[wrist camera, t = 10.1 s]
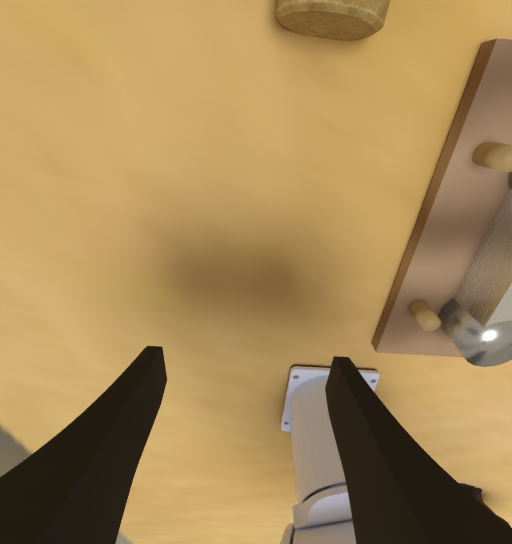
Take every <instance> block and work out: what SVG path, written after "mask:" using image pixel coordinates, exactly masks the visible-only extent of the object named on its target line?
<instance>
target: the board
mask: <svg viewBox="0 0 512 544" xmlns="http://www.w3.org/2000/svg"><path fill="white" fill-rule="evenodd" d="M509 172H512V40H509V39H494V40H491V41H487V42H484V43H482V45H481V48H480V50H479V53H478V56H477V59H476V61H475V64H474V67H473V69H472V72H471V75H470V78H469V80H468V83H467V86H466V88H465V91H464V94H463V97H462V99H461V102H460V105H459V108H458V110H457V113H456V116H455V118H454V121H453V124H452V127H451V129H450V132H449V135H448V137H447V140H446V143H445V146H444V148H443V151H442V154H441V156H440V159H439V162H438V165H437V167H436V170H435V173H434V176H433V178H432V181H431V184H430V186H429V189H428V192H427V195H426V197H425V200H424V203H423V205H422V208H421V211H420V214H419V216H418V219H417V222H416V224H415V227H414V230H413V233H412V235H411V238H410V241H409V244H408V246H407V249H406V252H405V254H404V257H403V260H402V263H401V265H400V268H399V271H398V273H397V276H396V279H395V282H394V284H393V287H392V290H391V293H390V295H389V298H388V301H387V303H386V306H385V309H384V312H383V314H382V317H381V320H380V322H379V325H378V328H377V331H376V333H375V336H374V339H373V341H372V345H373V347H374V349H375V351H376V352H381V353H399V354H417V355H434V356H452V357H463V355H462V354H461V353H460V352H459V350H458V349H457V348H456V347H455V346H454V344H453V343H452V342H451V341H450V339H449V338H448V337H447V336H446V335H445V333H444V332H443V331H442V330H441V328H440V327H439V326H440V325H441V320H440V319H439V318H438V317H437V316H438V313H439V311H440V310H441V308H442V307H443V306H444V305H445V304H446V303H447V302H448V301H449V300H451V299H452V298H453V297H454V295H455V293H456V291H457V289H458V287H459V285H460V283H461V281H462V279H463V278H464V276H465V274H466V272H467V270H468V268H469V266H470V264H471V262H472V260H473V258H474V256H475V254H476V252H477V250H478V248H479V246H480V244H481V242H482V240H483V238H484V236H485V234H486V232H487V230H488V229H489V227H490V225H491V223H492V221H493V219H494V217H495V215H496V213H497V211H498V209H499V207H500V205H501V203H502V201H503V199H504V197H505V195H506V193H507V191H508V189H509V186H508V175H509Z"/></svg>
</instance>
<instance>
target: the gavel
mask: <svg viewBox="0 0 512 544" xmlns="http://www.w3.org/2000/svg"><path fill="white" fill-rule="evenodd" d="M389 3H390V0H276V8H275V16H276V18H277V19H278V20H279V22H280V23H281V24H282V25H283V26H284V27H286V28H287V29H290V30H292V31H294V32H297V33H300V34H303V35H309V36H315V37H321V38H327V39H334V40H353V39H361V38H366V37H369V36H371V35H373V34H374V33H376V32H377V31H379V30H381V28H382V27H383V25H384V21H385V18H386V14H387V10H388V7H389Z"/></svg>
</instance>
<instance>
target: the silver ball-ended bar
mask: <svg viewBox="0 0 512 544" xmlns="http://www.w3.org/2000/svg"><path fill="white" fill-rule="evenodd" d="M508 186H509V189H508V191H507V193H506V195H505V197H504V199H503V201H502V203H501V205H500V207H499V209H498V211H497V213H496V215H495V217H494V219H493V221H492V223H491V225H490V227H489V229H488V230H487V232H486V234H485V236H484V238H483V240H482V242H481V244H480V246H479V248H478V250H477V252H476V254H475V256H474V258H473V260H472V262H471V264H470V266H469V268H468V270H467V272H466V274H465V276H464V278H463V279H462V281H461V283H460V285H459V287H458V289H457V291H456V293H455V295H454V297H453V298H452V299H451V300H449V301H448V302H447V303H446V304H445V305H444V306H443V307H442V308H441V310H440V311H439V313H438V316H437V317H438V318H439V319H440V320H441V325H440V326H439V327H440V328H441V330H442V331H443V332H444V333H445V335H446V336H447V337H448V338H449V339H450V341H451V342H452V343H453V344H454V346H455V347H456V348H457V349H458V350H459V352H460V353H461V354H462V355H463V357H464V358H465V359H466V360H467V361H468V362H469V363H471V364H473V365H476V366H482V367H488V366H495V365H499V364H503V363H505V362H508V361H510V360H512V172H509V175H508Z"/></svg>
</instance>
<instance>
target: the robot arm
mask: <svg viewBox="0 0 512 544" xmlns="http://www.w3.org/2000/svg"><path fill="white" fill-rule="evenodd" d="M379 379H380V375H379V372H378V371H373V370H358V369H357V368H356V367H355V365H354V364H353V362H352V361H351V360H350V358H349V357H335V356H334V358H333V362H332V365H331V368H319V367H301V366H295V367H292V368H291V370H290V376H289V382H288V387H287V393H286V398H285V404H284V409H283V415H282V420H281V430H282V431H286V432H291V443H292V454H293V465H294V476H295V487H296V494H297V499H298V502H299V504H298V505H294V506H293V518H294V523H291V524H289V525H288V526H287V527H286V529H285V531H284V533H283V537H282V540H281V542H280V544H512V528H511V527H509V526H508V525H507V524H506V523H504V522H503V521H502V520H500V519H499V518H498V517H497V516H496V515H494V514H493V513H492V512H491V511H490V510H488V509H487V508H486V507H485V506H484V505H483V504H481V503H480V502H479V501H478V500H477V499H475V498H474V497H473V496H472V495H471V494H470V493H469V492H467V491H466V490H465V489H464V488H463V487H462V486H461V485H460V484H459V483H458V482H457V481H455V480H454V479H453V478H452V477H451V476H450V475H449V474H448V473H447V472H446V471H445V470H444V469H442V468H441V467H440V466H439V465H438V464H437V463H436V462H435V461H434V460H433V459H432V458H431V457H430V456H429V455H428V454H427V453H426V452H425V451H424V450H423V449H422V448H421V447H420V446H419V445H418V443H417V442H416V441H415V440H414V439H413V438H412V437H411V436H410V435H409V434H408V433H407V431H406V430H405V429H404V428H403V427H402V426H401V425H400V423H399V422H398V421H397V420H396V419H395V418H394V416H393V415H392V414H391V413H390V412H389V410H388V409H387V408H386V407H385V405H384V404H383V403H382V402H381V400H380V399H379V398H378V396H377V395H376V394H375V393H374V390H375V388H376V386H377V383H378V381H379ZM166 382H167V376H166V369H165V362H164V355H163V349H162V347H157V346H147V347H146V348H145V349H144V350H143V351H142V352H141V353H140V354H139V355H138V357H137V358H136V359H135V360H134V361H133V362H132V363H131V364H130V366H129V367H128V368H127V369H126V370H125V371H124V372H123V373H122V374H121V375H120V376H119V377H118V378H117V379H116V381H115V382H114V383H113V384H112V385H111V386H110V387H109V388H108V389H107V390H106V391H105V392H104V393H103V394H102V395H101V396H100V397H99V398H98V399H97V400H96V401H94V402H93V403H92V404H91V405H90V406H89V407H88V408H87V409H86V410H85V411H84V412H83V413H82V414H81V415H79V416H78V417H77V418H76V419H75V420H74V421H73V422H72V423H70V424H69V425H68V426H67V427H66V428H64V429H63V430H62V431H61V432H60V433H59V434H57V435H56V436H55V437H54V438H52V439H51V440H50V441H49V442H47V443H46V444H45V445H43V446H42V447H41V448H40V449H38V450H37V451H36V452H35V453H33V454H32V455H31V456H29V457H28V458H27V459H25V460H24V461H23V462H21V463H20V464H18V465H17V466H15V467H14V468H13V469H11V470H10V471H8V472H7V473H6V474H4V475H3V476H1V477H0V544H115V543H116V539H117V535H118V531H119V528H120V524H121V520H122V517H123V513H124V509H125V506H126V502H127V499H128V495H129V492H130V488H131V485H132V481H133V478H134V475H135V472H136V469H137V466H138V463H139V460H140V458H141V455H142V452H143V450H144V447H145V444H146V442H147V439H148V437H149V434H150V431H151V429H152V426H153V424H154V421H155V418H156V416H157V413H158V410H159V408H160V405H161V401H162V398H163V394H164V390H165V386H166Z"/></svg>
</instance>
